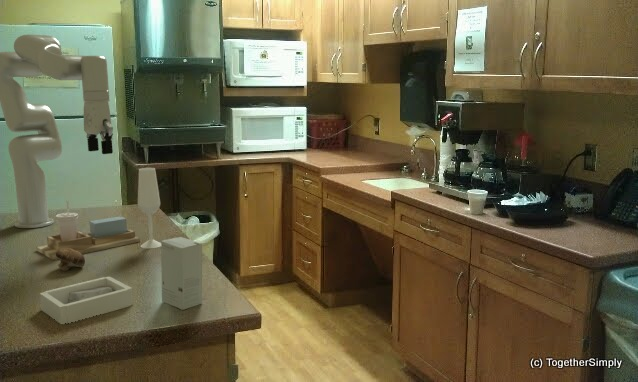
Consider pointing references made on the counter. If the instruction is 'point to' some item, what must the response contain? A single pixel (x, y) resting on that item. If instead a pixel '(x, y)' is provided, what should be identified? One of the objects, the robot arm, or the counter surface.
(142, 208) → the champagne flute
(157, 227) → the counter surface
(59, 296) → the soap dish rim
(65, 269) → the mushroom
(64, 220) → the smoothie
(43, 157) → the robot arm
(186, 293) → the skincare box
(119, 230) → the pale grey block
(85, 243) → the tray
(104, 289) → the soap bar
